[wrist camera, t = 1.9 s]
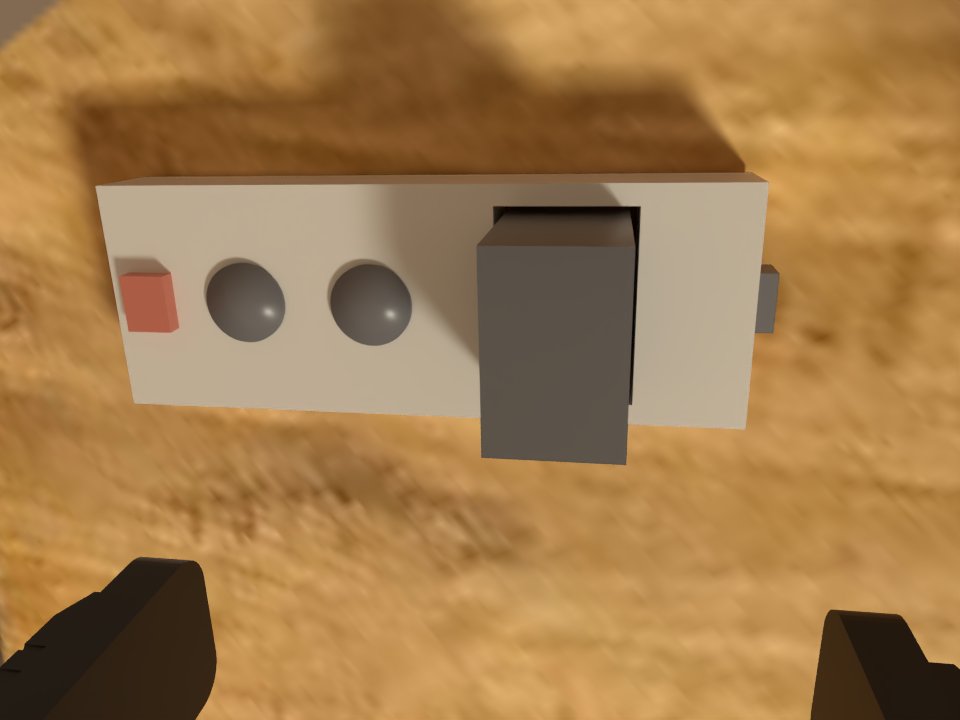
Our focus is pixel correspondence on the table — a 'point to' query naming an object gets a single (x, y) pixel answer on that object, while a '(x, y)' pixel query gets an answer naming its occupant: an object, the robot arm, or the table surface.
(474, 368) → the power strip
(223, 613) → the table surface
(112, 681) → the robot arm
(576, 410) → the charcoal plug
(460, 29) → the table surface
